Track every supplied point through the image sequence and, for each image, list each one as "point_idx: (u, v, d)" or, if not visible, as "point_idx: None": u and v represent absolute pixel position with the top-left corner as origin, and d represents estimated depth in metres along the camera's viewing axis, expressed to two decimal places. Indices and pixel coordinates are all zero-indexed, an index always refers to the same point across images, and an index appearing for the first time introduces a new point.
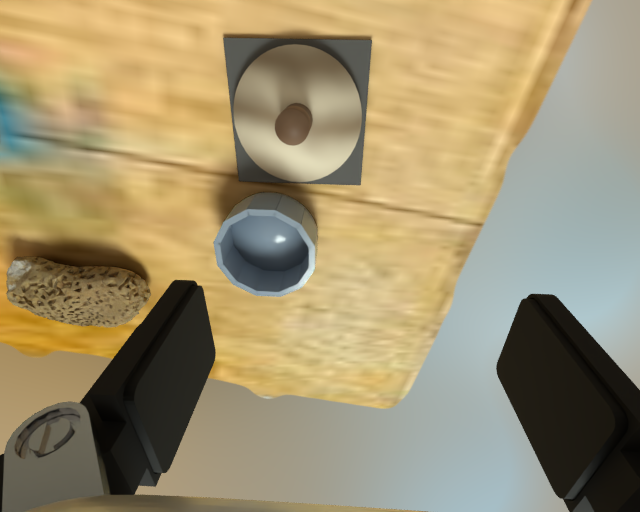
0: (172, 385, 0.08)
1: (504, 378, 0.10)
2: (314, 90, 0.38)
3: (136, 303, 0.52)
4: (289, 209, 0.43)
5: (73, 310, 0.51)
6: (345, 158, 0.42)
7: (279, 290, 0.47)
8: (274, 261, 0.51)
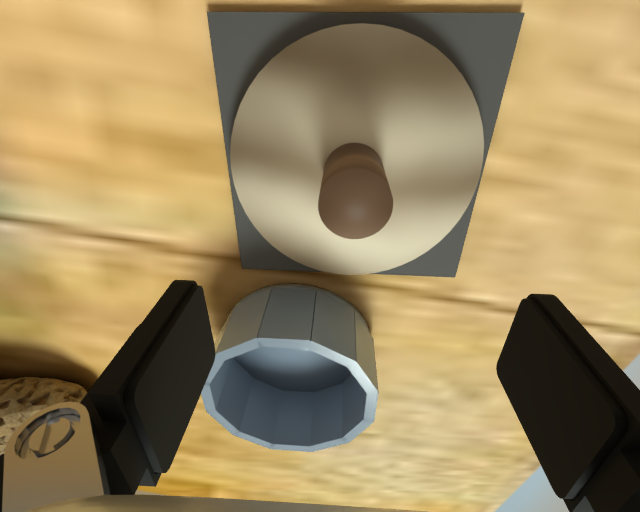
0: (172, 385, 0.08)
1: (504, 378, 0.10)
2: (392, 118, 0.19)
3: None
4: (332, 326, 0.24)
5: None
6: (438, 239, 0.23)
7: (310, 442, 0.29)
8: (298, 379, 0.32)
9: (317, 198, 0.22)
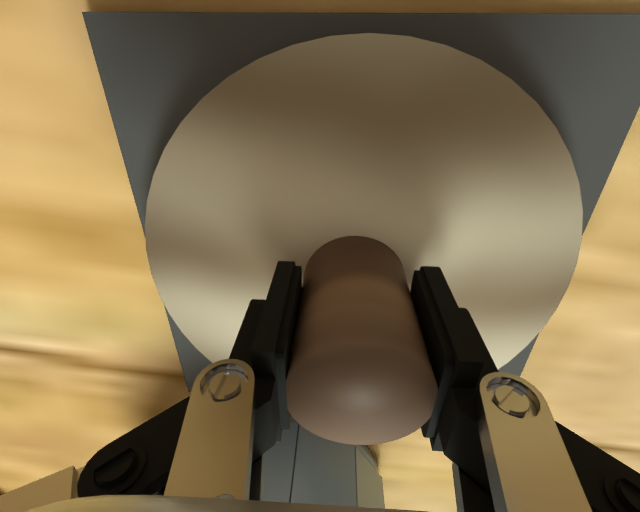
0: None
1: None
2: (423, 199, 0.11)
3: None
4: (321, 497, 0.16)
5: None
6: None
7: None
8: None
9: None
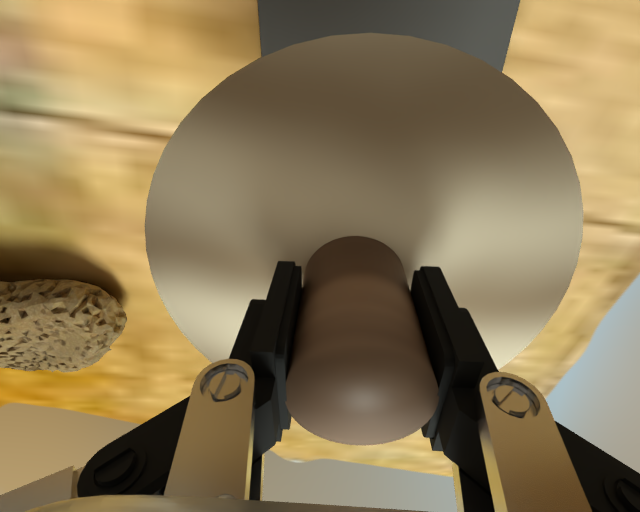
0: None
1: None
2: (423, 199, 0.11)
3: (103, 335, 0.33)
4: None
5: (5, 351, 0.32)
6: None
7: None
8: None
9: None
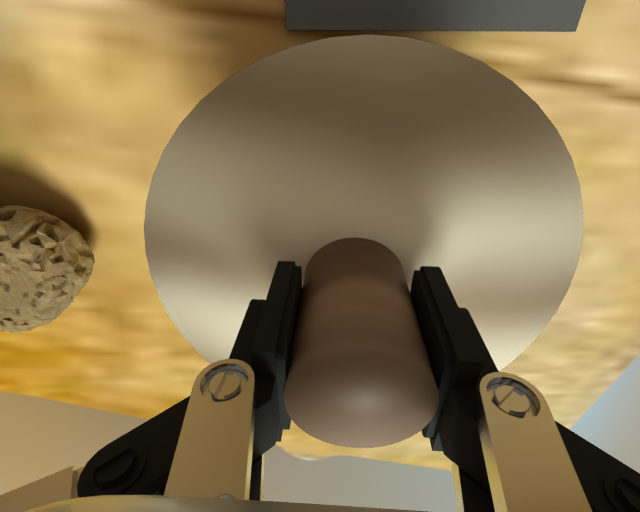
0: None
1: None
2: (423, 201, 0.11)
3: (60, 278, 0.25)
4: None
5: None
6: None
7: None
8: None
9: None
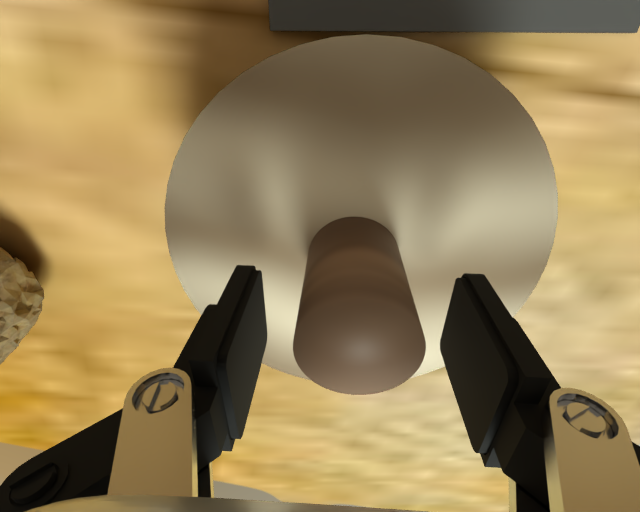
0: (245, 359, 0.09)
1: (444, 353, 0.11)
2: (415, 182, 0.12)
3: None
4: None
5: None
6: None
7: None
8: None
9: (300, 290, 0.15)
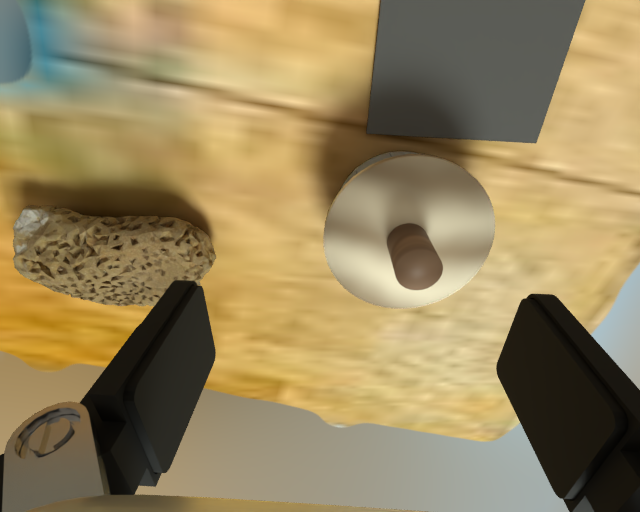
0: (172, 385, 0.08)
1: (504, 378, 0.10)
2: (436, 210, 0.29)
3: (198, 267, 0.36)
4: None
5: (109, 280, 0.35)
6: (461, 285, 0.33)
7: None
8: None
9: (380, 256, 0.31)
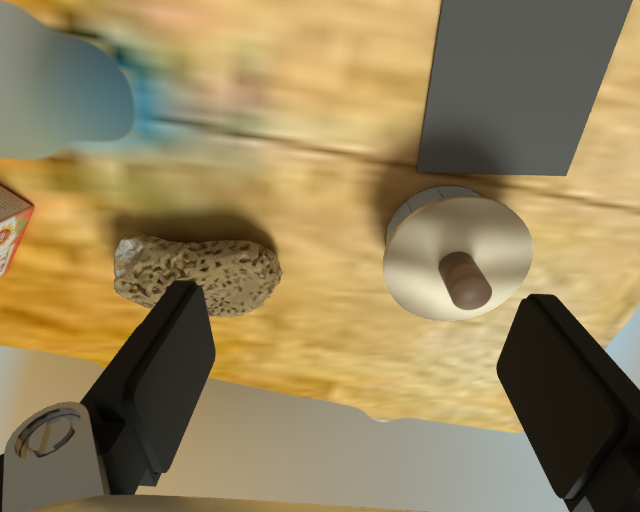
0: (172, 385, 0.08)
1: (504, 378, 0.10)
2: (482, 240, 0.34)
3: (270, 282, 0.42)
4: None
5: None
6: (501, 301, 0.38)
7: None
8: None
9: (432, 279, 0.37)
